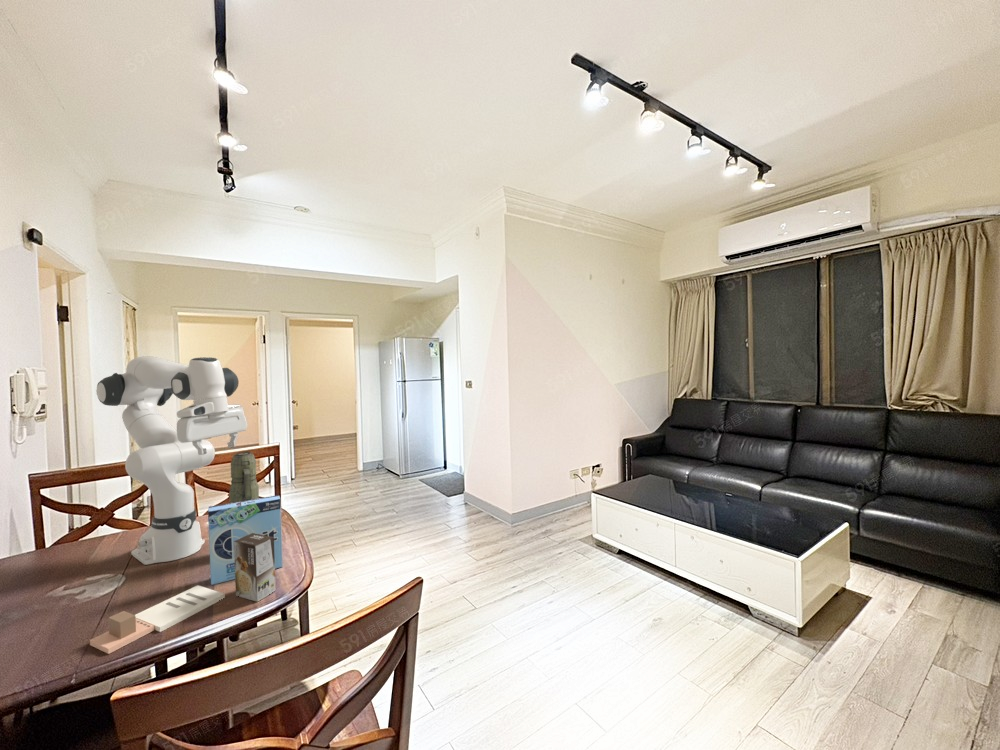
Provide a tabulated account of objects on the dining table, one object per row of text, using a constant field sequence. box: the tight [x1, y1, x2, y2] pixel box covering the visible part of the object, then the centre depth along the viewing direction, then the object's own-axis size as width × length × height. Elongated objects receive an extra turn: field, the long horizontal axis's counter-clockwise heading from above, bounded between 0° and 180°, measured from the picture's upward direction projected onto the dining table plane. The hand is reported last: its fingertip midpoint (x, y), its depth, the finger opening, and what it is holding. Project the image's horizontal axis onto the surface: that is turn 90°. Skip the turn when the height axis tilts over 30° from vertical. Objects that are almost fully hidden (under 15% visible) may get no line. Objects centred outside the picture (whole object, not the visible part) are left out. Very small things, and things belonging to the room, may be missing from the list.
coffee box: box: [234, 533, 277, 602], centre depth 119 cm, size 9×6×16 cm
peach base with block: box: [89, 610, 155, 655], centre depth 100 cm, size 8×9×5 cm
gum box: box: [207, 494, 284, 586], centre depth 131 cm, size 19×5×23 cm, turn 123°
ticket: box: [134, 584, 226, 633], centre depth 112 cm, size 12×16×1 cm
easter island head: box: [228, 451, 260, 503], centre depth 145 cm, size 9×12×35 cm
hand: (217, 450), depth 131 cm, fingers open, 8 cm apart
